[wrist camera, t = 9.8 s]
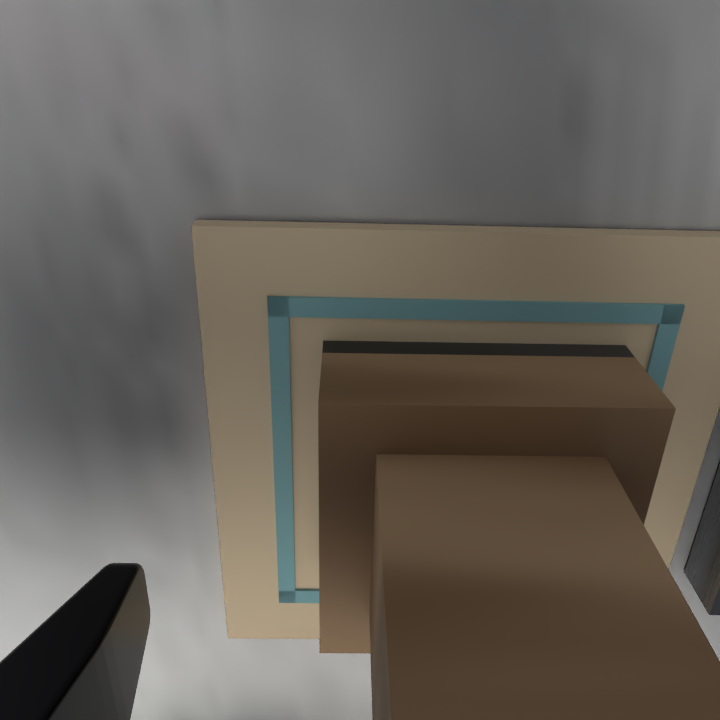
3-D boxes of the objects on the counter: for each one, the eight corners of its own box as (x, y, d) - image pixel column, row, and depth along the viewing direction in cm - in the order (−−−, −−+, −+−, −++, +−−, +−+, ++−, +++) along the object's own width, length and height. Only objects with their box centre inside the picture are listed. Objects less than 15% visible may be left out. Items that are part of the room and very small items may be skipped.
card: (760, 231, 10) (775, 239, 9) (640, 628, 14) (647, 643, 13) (195, 219, 10) (190, 227, 9) (230, 625, 13) (227, 640, 13)
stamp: (574, 569, 12) (760, 1039, 7) (323, 568, 12) (301, 1043, 7) (625, 344, 10) (951, 756, 5) (322, 340, 10) (291, 753, 5)
